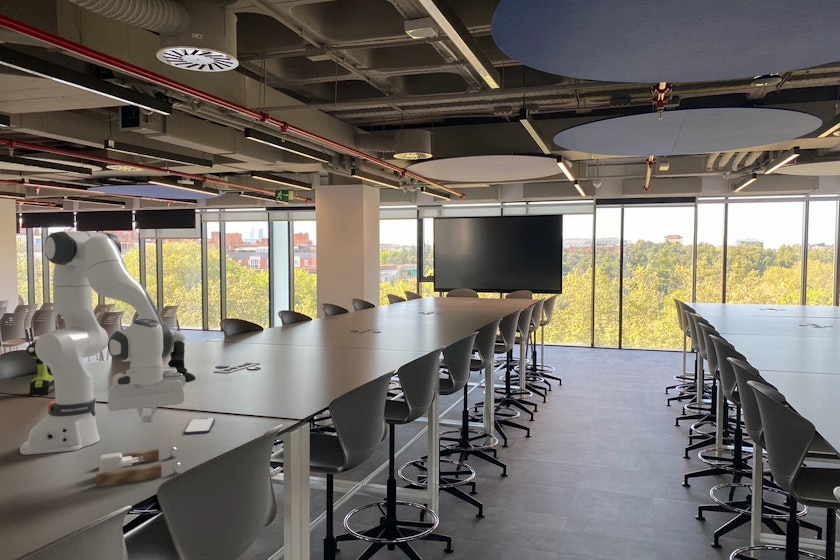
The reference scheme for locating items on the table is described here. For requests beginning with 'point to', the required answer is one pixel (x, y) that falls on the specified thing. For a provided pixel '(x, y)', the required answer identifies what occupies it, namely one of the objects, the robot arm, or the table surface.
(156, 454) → the walnut slot
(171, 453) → the steel pins
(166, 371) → the disposable coffee cup
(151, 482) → the table surface
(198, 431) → the smartphone
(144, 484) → the table surface
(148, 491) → the table surface
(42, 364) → the cordless drill
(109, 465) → the power adapter
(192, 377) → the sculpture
